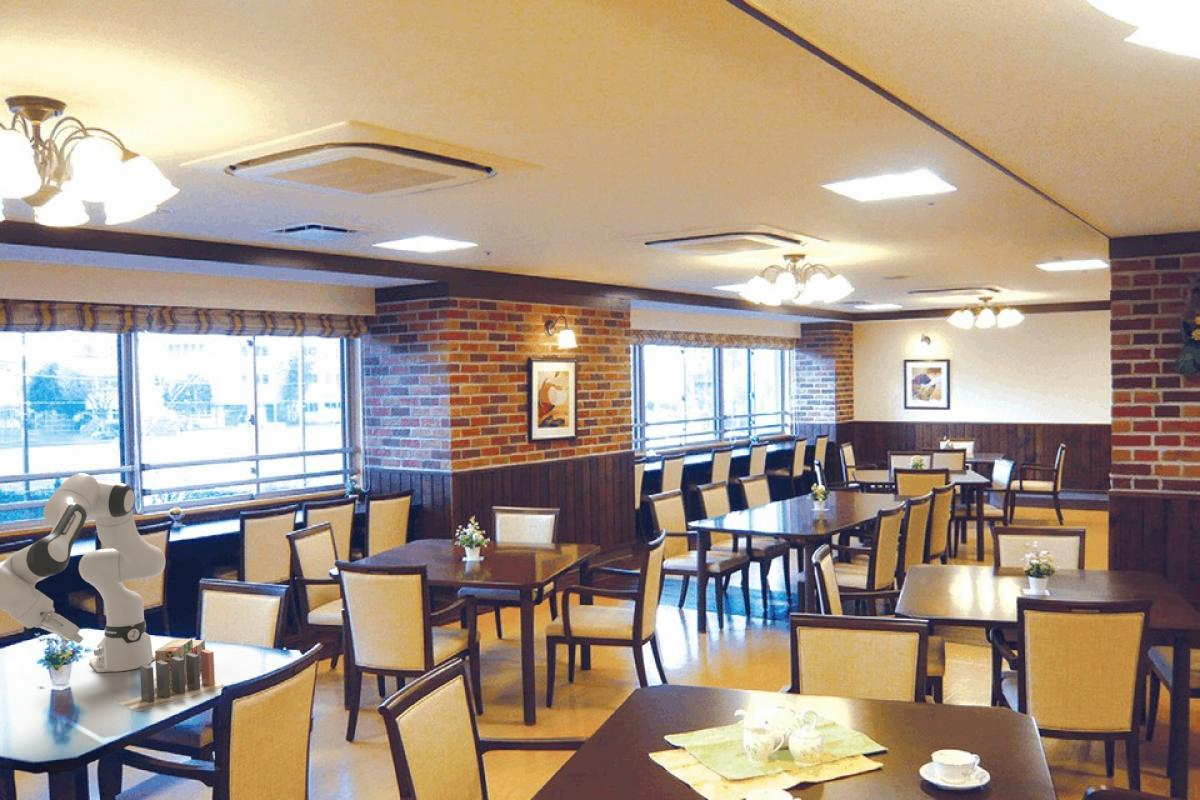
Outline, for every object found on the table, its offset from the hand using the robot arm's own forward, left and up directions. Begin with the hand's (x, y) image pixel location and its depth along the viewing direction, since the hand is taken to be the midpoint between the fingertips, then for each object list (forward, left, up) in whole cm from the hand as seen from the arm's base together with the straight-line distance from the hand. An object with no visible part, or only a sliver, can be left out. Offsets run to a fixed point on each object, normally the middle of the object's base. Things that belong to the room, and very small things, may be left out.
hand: (76, 638), depth 263 cm
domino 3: (0, +27, -22) cm, 35 cm away
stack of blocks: (-16, +36, -24) cm, 46 cm away
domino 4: (0, +32, -22) cm, 39 cm away
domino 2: (0, +23, -22) cm, 32 cm away
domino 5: (0, +36, -22) cm, 43 cm away
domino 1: (0, +18, -22) cm, 29 cm away
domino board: (0, +25, -23) cm, 35 cm away
